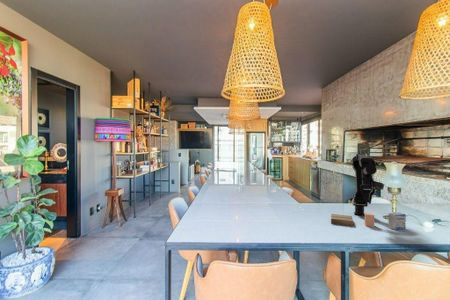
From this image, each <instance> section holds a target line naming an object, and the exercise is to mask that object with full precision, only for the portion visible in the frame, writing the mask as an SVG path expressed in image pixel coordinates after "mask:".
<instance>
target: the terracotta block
mask: <svg viewBox="0 0 450 300" xmlns="http://www.w3.org/2000/svg"><path fill="white" fill-rule="evenodd" d="M364 213H365V216H364V225H365V227H369V226H370V228H375V214H374V213H372V212H364Z"/></svg>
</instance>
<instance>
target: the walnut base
mask: <svg viewBox="0 0 450 300" xmlns="http://www.w3.org/2000/svg"><path fill="white" fill-rule="evenodd" d="M330 224H333V225H340V226H349V227H354V219H353V216H352V215H344V214H336V213H331V215H330Z"/></svg>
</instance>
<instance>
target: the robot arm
mask: <svg viewBox="0 0 450 300" xmlns="http://www.w3.org/2000/svg"><path fill="white" fill-rule="evenodd" d="M351 166H352V170H353V171H354V173H355V174H354V176H355V190H356V191H355V193H354V194H353V198H352V206H353V207H354V211H353V214H354V216H362V217H365V213H366V212H365V208H367V207H369V205H368V204H370V205H371V204H372V199H373V196H374V195H375V194H376V193H377V192H376V188H377V189H379V190H384V187H385V184H384V183H383V182H379V181H376V180H374V177H373V175H375V174H376V173H377V170H378V169H377V167H376V166H377V163H376V162H375V160H374V158H373V157H367V155H365V154H364V153H356V154H355V156H353V157H352V158H351Z"/></svg>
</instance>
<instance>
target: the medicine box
mask: <svg viewBox="0 0 450 300" xmlns="http://www.w3.org/2000/svg"><path fill="white" fill-rule="evenodd" d="M406 216H407V215H406V213H402V212H390V213H388V217H387V218H388V219H387V221H388V229H392V230H394V231H398V230H399V231H400V230H405V229H406V228H407V227H406V225H407V223H406V220H407V219H406V218H407V217H406Z"/></svg>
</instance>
